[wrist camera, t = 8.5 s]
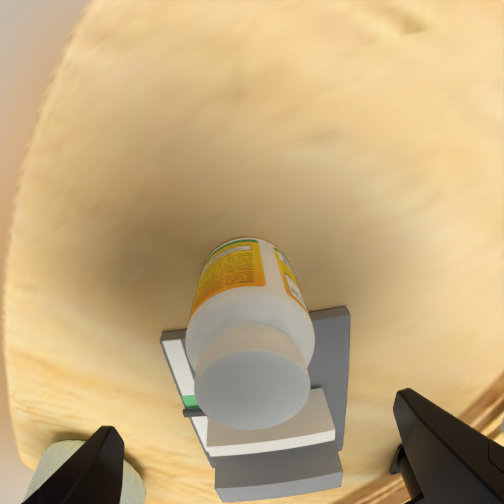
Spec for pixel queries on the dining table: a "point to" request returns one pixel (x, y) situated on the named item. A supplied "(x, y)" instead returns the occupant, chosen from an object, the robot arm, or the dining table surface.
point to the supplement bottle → (249, 337)
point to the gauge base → (321, 364)
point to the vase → (63, 451)
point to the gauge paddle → (272, 430)
